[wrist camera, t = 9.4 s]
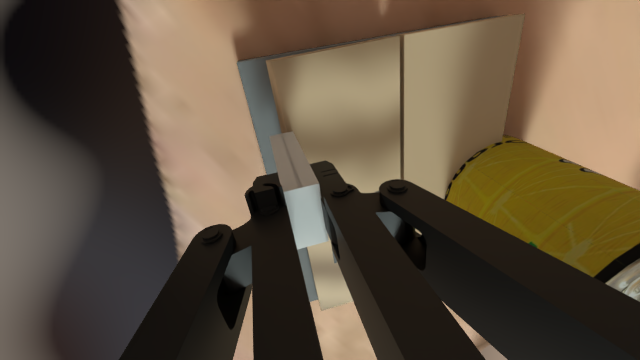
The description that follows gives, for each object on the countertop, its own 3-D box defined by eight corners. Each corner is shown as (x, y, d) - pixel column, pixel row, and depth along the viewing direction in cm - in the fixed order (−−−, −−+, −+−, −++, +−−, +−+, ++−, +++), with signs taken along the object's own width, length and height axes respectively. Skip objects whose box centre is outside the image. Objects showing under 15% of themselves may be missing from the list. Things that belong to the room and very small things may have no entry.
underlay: (238, 61, 18) (235, 64, 16) (496, 16, 19) (525, 13, 17) (300, 293, 28) (303, 314, 26) (463, 250, 30) (478, 266, 28)
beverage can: (469, 239, 28) (596, 365, 17) (416, 196, 24) (540, 327, 13) (546, 172, 25) (744, 273, 15) (502, 112, 21) (730, 193, 11)
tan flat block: (265, 60, 15) (271, 61, 14) (387, 36, 17) (399, 35, 16) (299, 212, 20) (305, 220, 19) (391, 176, 22) (400, 181, 21)
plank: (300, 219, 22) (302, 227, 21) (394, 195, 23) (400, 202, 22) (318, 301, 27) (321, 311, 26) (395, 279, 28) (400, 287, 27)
